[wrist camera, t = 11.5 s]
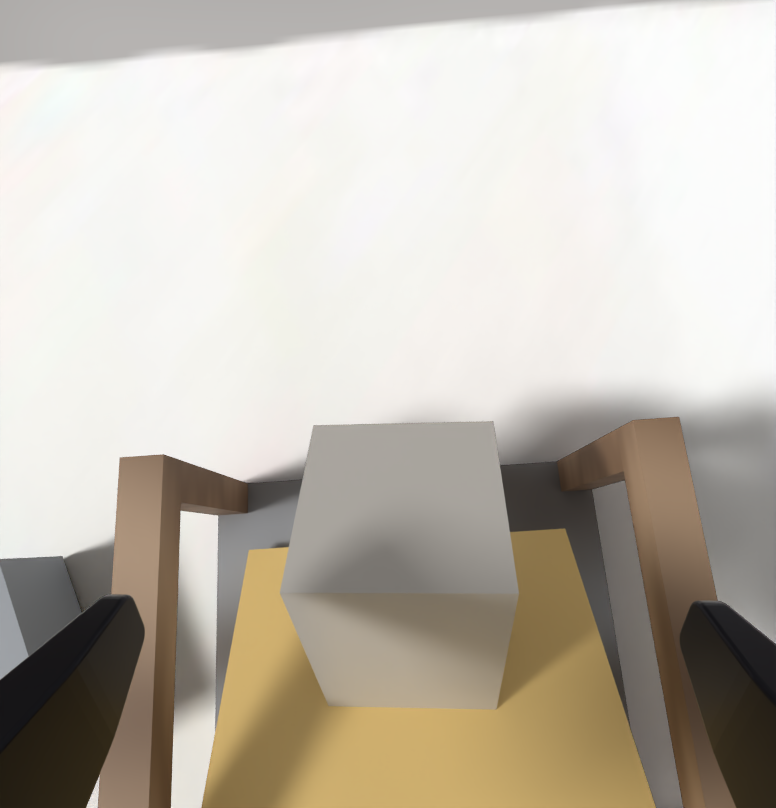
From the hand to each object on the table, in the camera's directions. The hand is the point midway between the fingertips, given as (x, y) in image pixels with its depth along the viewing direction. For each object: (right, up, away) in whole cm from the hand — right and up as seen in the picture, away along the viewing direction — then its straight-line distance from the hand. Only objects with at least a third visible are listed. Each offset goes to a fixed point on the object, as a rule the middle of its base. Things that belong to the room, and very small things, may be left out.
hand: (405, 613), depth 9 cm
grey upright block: (+1, -4, +9) cm, 10 cm away
